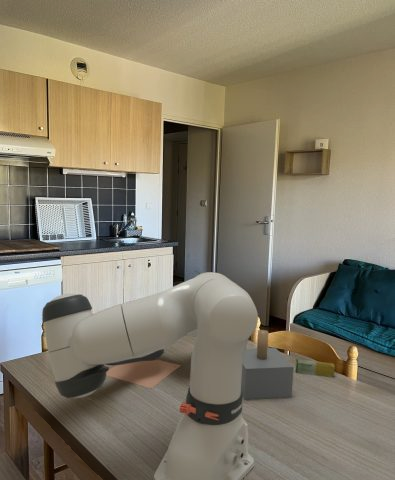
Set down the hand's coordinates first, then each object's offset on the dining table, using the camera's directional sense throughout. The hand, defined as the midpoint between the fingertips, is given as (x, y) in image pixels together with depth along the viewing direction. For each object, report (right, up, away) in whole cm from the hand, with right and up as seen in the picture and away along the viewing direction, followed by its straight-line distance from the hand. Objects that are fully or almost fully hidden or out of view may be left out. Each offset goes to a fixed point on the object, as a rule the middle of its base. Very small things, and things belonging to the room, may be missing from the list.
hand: (225, 325), depth 121 cm
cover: (+10, -18, -4) cm, 21 cm away
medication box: (+29, -18, +7) cm, 35 cm away
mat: (-26, -15, +4) cm, 30 cm away
